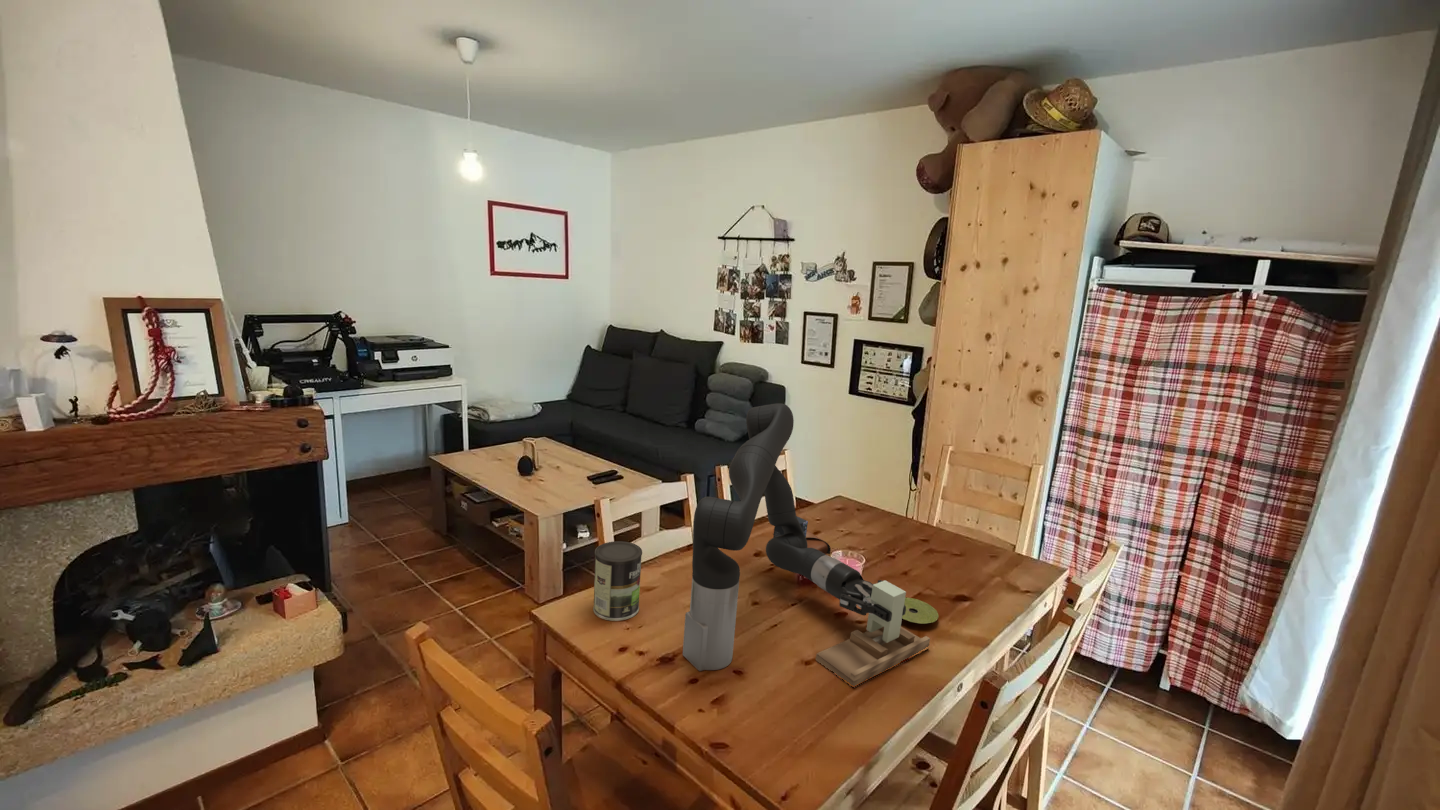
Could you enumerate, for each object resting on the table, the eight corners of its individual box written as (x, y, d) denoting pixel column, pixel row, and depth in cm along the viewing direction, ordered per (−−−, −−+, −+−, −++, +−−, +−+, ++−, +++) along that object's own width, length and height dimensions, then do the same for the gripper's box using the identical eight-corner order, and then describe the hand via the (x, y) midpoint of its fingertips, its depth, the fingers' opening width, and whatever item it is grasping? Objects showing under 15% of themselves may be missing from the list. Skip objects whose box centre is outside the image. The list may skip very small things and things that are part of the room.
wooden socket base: (853, 688, 116) (855, 671, 116) (815, 660, 124) (817, 644, 123) (928, 649, 131) (930, 635, 130) (890, 626, 138) (892, 612, 138)
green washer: (877, 607, 146) (878, 600, 146) (916, 601, 150) (917, 594, 150) (907, 633, 136) (908, 626, 136) (947, 626, 140) (949, 619, 140)
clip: (886, 642, 126) (893, 596, 123) (866, 629, 130) (872, 584, 128) (898, 637, 128) (906, 591, 126) (878, 624, 132) (885, 580, 130)
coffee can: (645, 601, 141) (648, 544, 138) (630, 625, 131) (632, 564, 129) (603, 593, 143) (605, 537, 140) (585, 616, 133) (587, 557, 130)
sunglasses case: (769, 533, 184) (780, 513, 184) (784, 540, 188) (795, 521, 188) (807, 558, 169) (819, 537, 170) (823, 566, 173) (834, 546, 174)
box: (786, 563, 165) (789, 526, 163) (770, 555, 169) (774, 519, 167) (804, 555, 171) (808, 520, 169) (789, 548, 175) (792, 513, 173)
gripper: (815, 570, 134) (877, 607, 120) (858, 555, 142) (921, 589, 129) (811, 600, 135) (872, 641, 122) (854, 585, 144) (916, 620, 131)
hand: (897, 614), depth 126 cm, fingers closed on clip, 4 cm apart
